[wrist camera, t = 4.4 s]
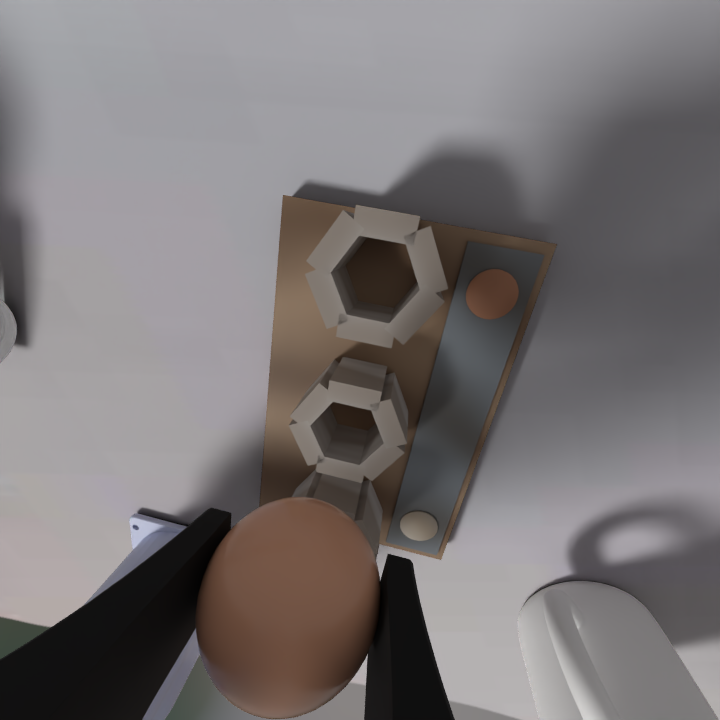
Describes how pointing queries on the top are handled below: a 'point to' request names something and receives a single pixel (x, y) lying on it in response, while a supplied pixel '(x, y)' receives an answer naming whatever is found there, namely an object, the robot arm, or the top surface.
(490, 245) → the brown egg holder tray
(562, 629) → the mug
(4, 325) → the spread jar
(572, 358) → the top surface
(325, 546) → the terracotta ball
